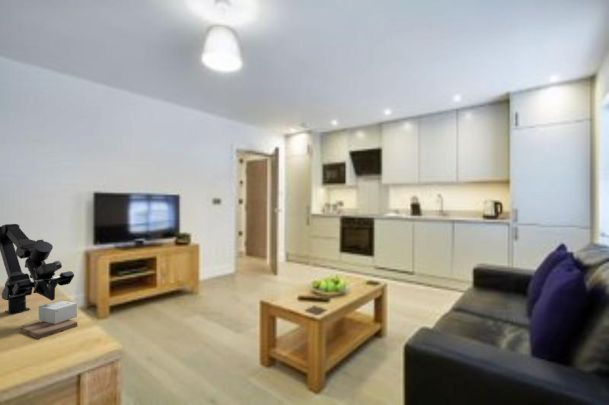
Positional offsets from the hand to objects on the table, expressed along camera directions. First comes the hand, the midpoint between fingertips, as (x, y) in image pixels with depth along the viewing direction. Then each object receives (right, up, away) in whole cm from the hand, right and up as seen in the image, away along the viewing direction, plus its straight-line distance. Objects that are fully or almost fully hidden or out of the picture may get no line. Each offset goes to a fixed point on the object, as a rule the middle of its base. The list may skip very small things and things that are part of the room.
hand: (53, 299), depth 125 cm
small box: (-3, -5, +3) cm, 7 cm away
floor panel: (+3, -9, -5) cm, 11 cm away
